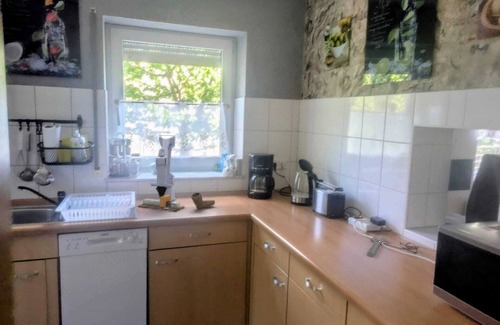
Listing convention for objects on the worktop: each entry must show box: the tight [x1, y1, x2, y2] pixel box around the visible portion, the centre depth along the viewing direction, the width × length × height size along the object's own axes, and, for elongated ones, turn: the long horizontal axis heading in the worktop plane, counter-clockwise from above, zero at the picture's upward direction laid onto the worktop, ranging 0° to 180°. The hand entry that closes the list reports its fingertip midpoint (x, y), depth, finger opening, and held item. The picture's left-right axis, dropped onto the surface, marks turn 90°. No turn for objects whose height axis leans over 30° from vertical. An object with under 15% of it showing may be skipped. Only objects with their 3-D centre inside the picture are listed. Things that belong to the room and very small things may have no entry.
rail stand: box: [137, 198, 185, 213], centre depth 210 cm, size 26×10×4 cm, turn 71°
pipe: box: [190, 192, 216, 210], centre depth 212 cm, size 6×17×10 cm, turn 133°
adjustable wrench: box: [366, 236, 388, 258], centre depth 153 cm, size 25×6×2 cm, turn 145°
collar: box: [159, 195, 171, 207], centre depth 209 cm, size 3×8×6 cm, turn 161°
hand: (161, 198), depth 209 cm, fingers closed
